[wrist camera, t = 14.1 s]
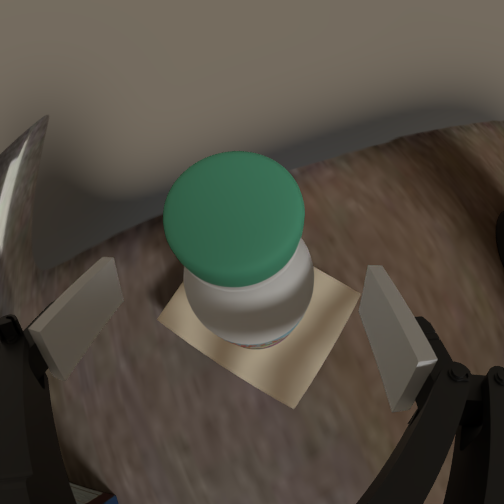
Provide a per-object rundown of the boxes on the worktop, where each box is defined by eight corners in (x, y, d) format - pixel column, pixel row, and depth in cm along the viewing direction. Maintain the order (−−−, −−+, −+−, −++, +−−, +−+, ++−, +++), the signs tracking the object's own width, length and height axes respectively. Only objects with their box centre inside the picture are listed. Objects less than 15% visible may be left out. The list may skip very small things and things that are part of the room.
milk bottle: (219, 271, 29) (142, 126, 10) (296, 271, 29) (337, 117, 10) (215, 348, 26) (98, 322, 8) (297, 349, 26) (368, 329, 7)
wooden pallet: (349, 302, 31) (361, 294, 27) (290, 401, 28) (293, 409, 24) (232, 235, 35) (227, 218, 31) (171, 324, 32) (156, 319, 28)
